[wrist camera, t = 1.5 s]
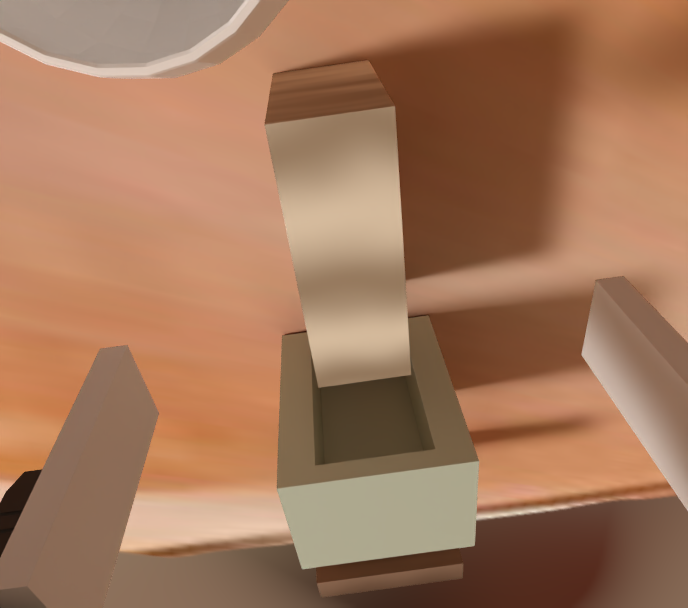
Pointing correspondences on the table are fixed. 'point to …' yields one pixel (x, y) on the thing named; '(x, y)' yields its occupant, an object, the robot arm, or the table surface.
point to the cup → (134, 33)
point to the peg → (343, 217)
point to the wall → (389, 572)
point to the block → (374, 459)
